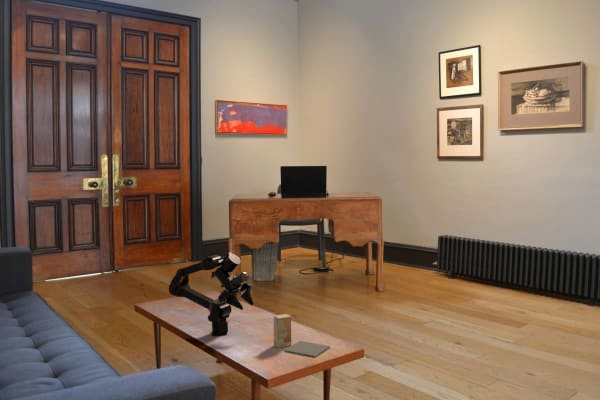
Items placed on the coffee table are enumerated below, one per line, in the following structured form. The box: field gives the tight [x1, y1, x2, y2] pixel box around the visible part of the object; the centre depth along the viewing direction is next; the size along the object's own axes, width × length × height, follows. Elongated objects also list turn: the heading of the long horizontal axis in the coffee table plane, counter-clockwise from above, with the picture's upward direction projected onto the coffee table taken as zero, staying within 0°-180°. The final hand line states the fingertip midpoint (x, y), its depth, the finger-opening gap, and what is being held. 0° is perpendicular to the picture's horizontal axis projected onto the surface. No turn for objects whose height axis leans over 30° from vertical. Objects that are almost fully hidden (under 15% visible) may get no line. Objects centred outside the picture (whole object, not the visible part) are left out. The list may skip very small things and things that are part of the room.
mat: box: [284, 340, 331, 358], centre depth 217 cm, size 14×12×1 cm
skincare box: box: [273, 313, 292, 349], centre depth 222 cm, size 6×4×12 cm
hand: (247, 307), depth 231 cm, fingers open, 7 cm apart
